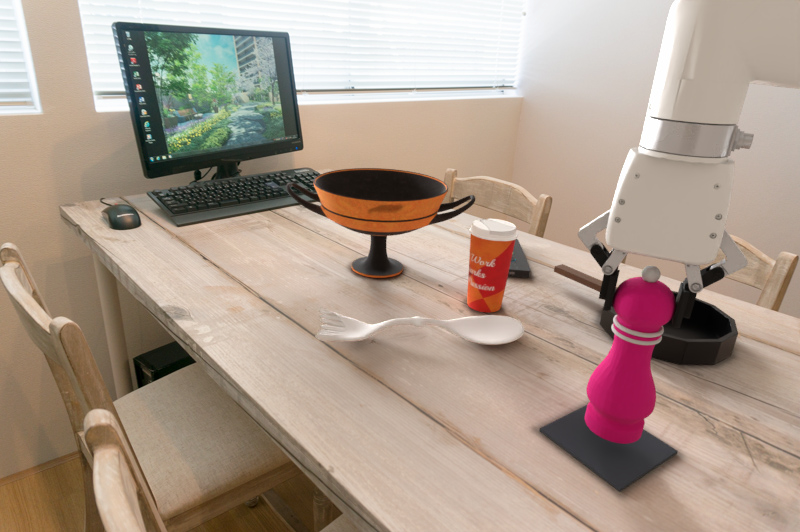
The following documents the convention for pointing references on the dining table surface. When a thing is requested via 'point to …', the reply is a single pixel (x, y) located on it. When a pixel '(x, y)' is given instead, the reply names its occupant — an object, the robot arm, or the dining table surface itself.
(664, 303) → the pepper mill
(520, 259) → the smart home device
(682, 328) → the pan
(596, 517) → the dining table surface
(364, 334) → the spoon
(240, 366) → the dining table surface
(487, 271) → the coffee cup
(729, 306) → the dining table surface
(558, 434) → the slate mat
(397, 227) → the cup
